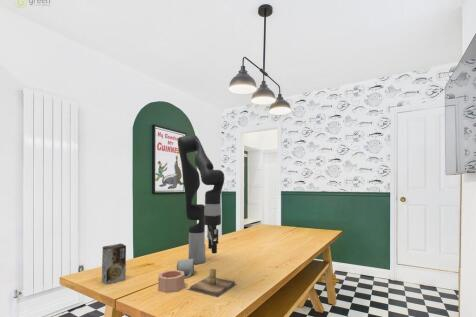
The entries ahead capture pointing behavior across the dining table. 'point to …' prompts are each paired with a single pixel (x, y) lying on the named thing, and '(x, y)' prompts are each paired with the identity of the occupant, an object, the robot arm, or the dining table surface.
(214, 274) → the lid
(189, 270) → the ceramic mug
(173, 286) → the bowl
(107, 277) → the coffee box
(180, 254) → the dining table surface
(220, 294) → the mat
